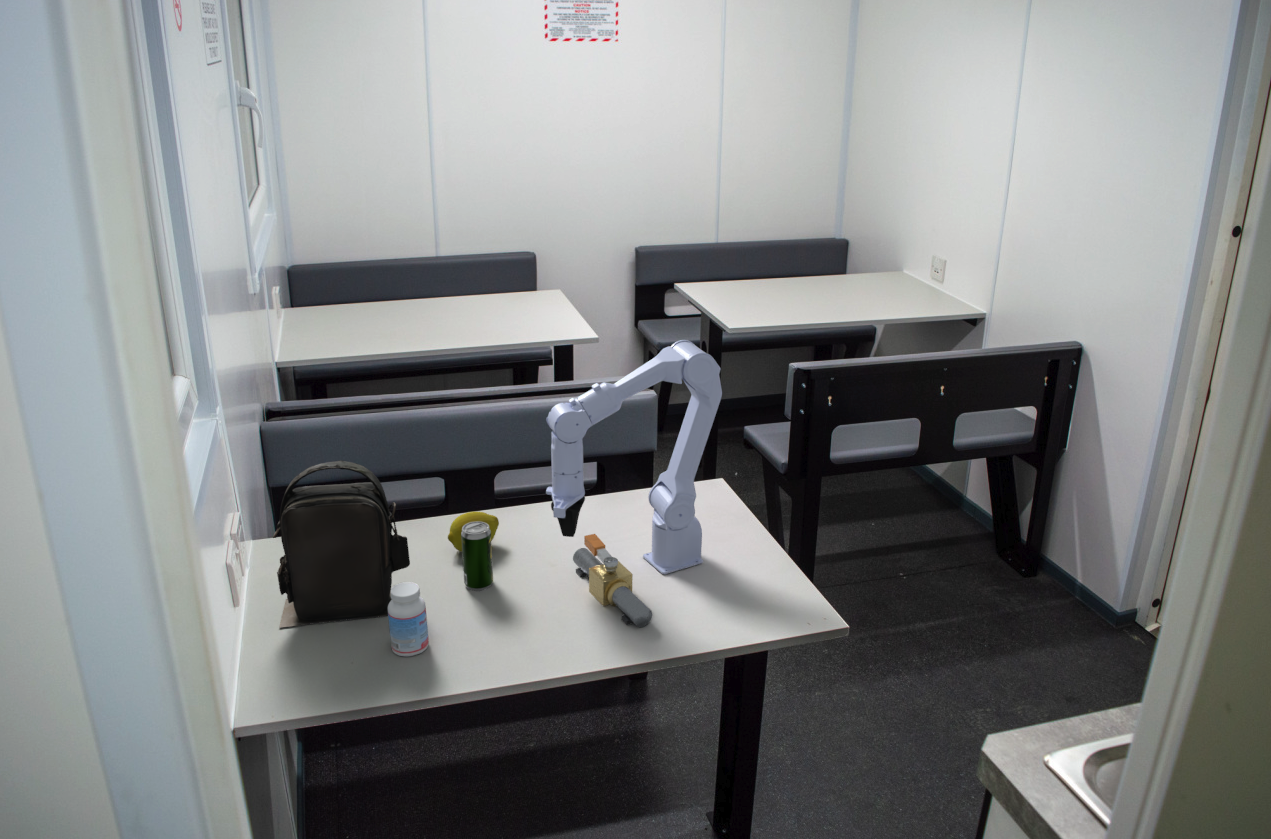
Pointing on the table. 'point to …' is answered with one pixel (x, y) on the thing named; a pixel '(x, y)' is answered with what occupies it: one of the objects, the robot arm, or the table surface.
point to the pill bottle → (407, 620)
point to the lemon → (467, 518)
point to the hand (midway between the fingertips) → (568, 534)
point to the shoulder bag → (337, 549)
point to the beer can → (477, 556)
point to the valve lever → (601, 552)
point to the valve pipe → (612, 587)
